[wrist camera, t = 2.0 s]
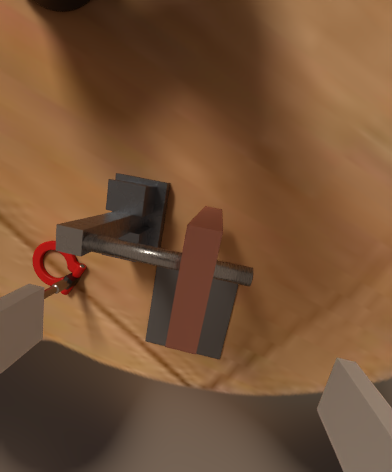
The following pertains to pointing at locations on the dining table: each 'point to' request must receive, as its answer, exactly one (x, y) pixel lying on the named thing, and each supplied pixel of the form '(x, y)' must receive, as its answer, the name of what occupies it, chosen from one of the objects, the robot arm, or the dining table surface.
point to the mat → (213, 320)
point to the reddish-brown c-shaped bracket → (195, 279)
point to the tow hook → (56, 284)
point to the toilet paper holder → (134, 229)
